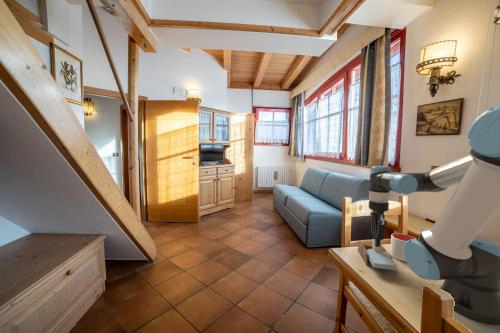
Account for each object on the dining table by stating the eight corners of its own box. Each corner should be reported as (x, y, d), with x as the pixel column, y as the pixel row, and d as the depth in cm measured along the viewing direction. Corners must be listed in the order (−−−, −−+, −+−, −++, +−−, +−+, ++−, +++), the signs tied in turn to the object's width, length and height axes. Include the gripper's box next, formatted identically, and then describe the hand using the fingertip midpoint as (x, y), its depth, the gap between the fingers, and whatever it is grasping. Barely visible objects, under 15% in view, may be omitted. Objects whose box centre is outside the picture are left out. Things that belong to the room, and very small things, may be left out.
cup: (422, 263, 94) (423, 242, 93) (399, 263, 94) (400, 241, 93) (405, 252, 104) (407, 233, 103) (385, 252, 104) (386, 233, 103)
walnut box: (391, 269, 90) (392, 257, 89) (366, 265, 92) (366, 254, 92) (380, 253, 103) (380, 243, 103) (357, 251, 106) (358, 241, 105)
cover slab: (395, 270, 83) (396, 265, 83) (373, 267, 85) (373, 262, 85) (386, 255, 93) (386, 251, 93) (366, 253, 95) (366, 249, 95)
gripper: (394, 205, 86) (391, 260, 87) (382, 198, 98) (380, 247, 100) (374, 203, 87) (371, 258, 89) (365, 197, 100) (363, 245, 102)
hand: (376, 252), depth 94 cm, fingers closed
